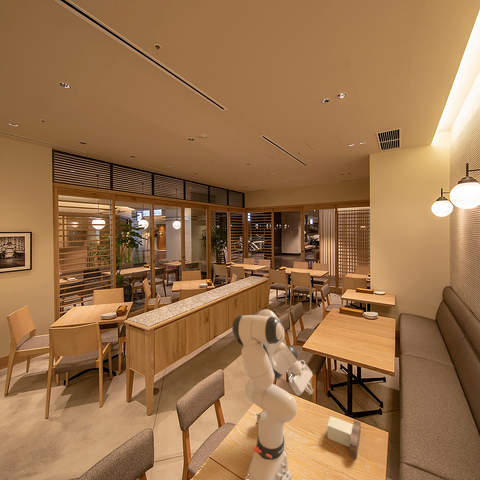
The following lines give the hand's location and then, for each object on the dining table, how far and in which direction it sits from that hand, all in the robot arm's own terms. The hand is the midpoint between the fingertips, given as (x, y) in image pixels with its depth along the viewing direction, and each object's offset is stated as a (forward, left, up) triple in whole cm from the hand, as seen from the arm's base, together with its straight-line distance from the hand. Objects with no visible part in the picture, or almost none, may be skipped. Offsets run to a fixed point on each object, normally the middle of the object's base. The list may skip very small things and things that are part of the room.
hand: (312, 393), depth 131 cm
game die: (-13, +23, -20) cm, 33 cm away
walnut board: (+1, -21, -19) cm, 29 cm away
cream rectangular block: (+1, -14, -20) cm, 24 cm away
